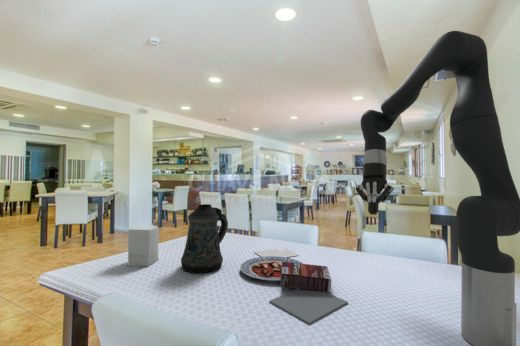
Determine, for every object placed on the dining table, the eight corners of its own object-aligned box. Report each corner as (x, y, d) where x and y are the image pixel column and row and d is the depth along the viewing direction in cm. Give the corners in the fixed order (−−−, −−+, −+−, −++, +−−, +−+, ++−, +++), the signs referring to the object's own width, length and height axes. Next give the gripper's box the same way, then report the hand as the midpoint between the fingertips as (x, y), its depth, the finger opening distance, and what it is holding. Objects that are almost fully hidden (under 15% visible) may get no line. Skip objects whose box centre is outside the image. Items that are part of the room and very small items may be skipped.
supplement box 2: (159, 259, 116) (159, 225, 116) (148, 267, 107) (148, 229, 107) (139, 259, 117) (139, 224, 117) (127, 266, 108) (127, 229, 108)
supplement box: (332, 278, 84) (281, 273, 85) (330, 292, 85) (280, 287, 86) (327, 265, 92) (281, 260, 94) (326, 278, 93) (280, 273, 94)
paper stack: (244, 248, 136) (245, 247, 136) (285, 242, 148) (285, 241, 148) (267, 262, 116) (267, 260, 116) (313, 254, 127) (313, 252, 127)
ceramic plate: (248, 289, 88) (248, 280, 88) (234, 264, 112) (234, 256, 112) (319, 281, 94) (319, 273, 94) (291, 259, 119) (291, 252, 119)
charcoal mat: (347, 303, 78) (347, 301, 78) (309, 324, 67) (309, 322, 67) (308, 286, 90) (308, 285, 90) (269, 302, 78) (269, 300, 78)
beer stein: (172, 271, 102) (172, 206, 102) (198, 256, 121) (198, 201, 121) (210, 276, 97) (211, 208, 97) (232, 260, 116) (232, 203, 116)
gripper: (351, 164, 96) (349, 212, 92) (388, 159, 86) (387, 213, 82) (362, 169, 100) (360, 215, 96) (399, 165, 90) (398, 216, 86)
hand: (373, 214), depth 89 cm, fingers closed
